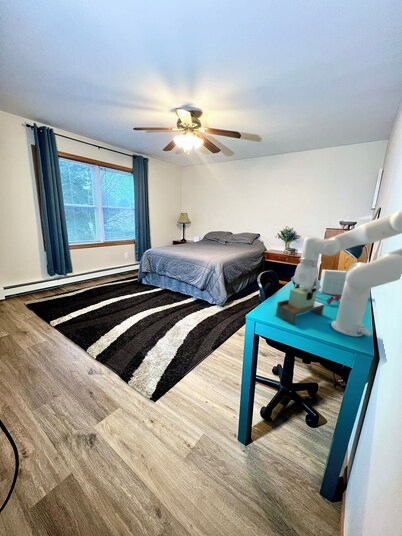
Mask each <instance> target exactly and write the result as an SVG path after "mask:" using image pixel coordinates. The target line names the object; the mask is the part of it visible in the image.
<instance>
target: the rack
mask: <svg viewBox="0 0 402 536" xmlns="http://www.w3.org/2000/svg"><path fill="white" fill-rule="evenodd" d="M288 301H289V298H288V299H284V300H280V301H277V306H276V312H275V316H276V317H277V318H279V319H281V320H283V321H285V322H287V323H288V324H290V325H295V323H296V317H297V315H301V314H303V313H307V312H312V313H314V314H317V315H319V316H323V313H324V308H325V304H324V303H321V302H319V301H317V300H315V303H314V305H313V306H309V307H305V308H302V309H298V308H295V307H293V306H291V305H289V304H288Z"/></svg>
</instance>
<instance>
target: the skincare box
mask: <svg viewBox="0 0 402 536" xmlns="http://www.w3.org/2000/svg"><path fill="white" fill-rule="evenodd" d="M346 273H347V270H337V269H322V270H321V274H320V281H319V285H320V286H321V288H320V289H319V290H318V292H319V291H322V292H319V293H320V294H322V295H329V294H331V295H334V296H335V295H340V296H342V292H343V288H344V284H345V279H346ZM323 292H325V293H323ZM326 293H328V294H326Z"/></svg>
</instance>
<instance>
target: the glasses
mask: <svg viewBox="0 0 402 536" xmlns="http://www.w3.org/2000/svg"><path fill="white" fill-rule="evenodd" d="M320 292H322V291H319V290H318V291H317V293H316V294H318V293H320ZM323 293H325V292H323ZM325 295H329V297H328V298H327V299H324V298H322V297H321V298H320V297H318V296H316V298H317V299H318V300H319V299H320V300H322V301H325V302H326V303H327V304H328V305H331V303H332V302H333V301H335V302H340V300H341V295H334V294H328V293H326V294H325Z"/></svg>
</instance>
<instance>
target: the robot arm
mask: <svg viewBox="0 0 402 536" xmlns="http://www.w3.org/2000/svg"><path fill="white" fill-rule="evenodd" d="M401 234H402V209H400V210H398V211H394V212H392V213H389V214H387V215H383V216H382V217H379V218H376V219H374V220H371V221H368V222H366V223H363V224H361V225H359V226H356V227H355V228H353V229H350V230H348V231H345V232H342V233H339V234H337V235H335V236H331V237H329V238H321V237H317V236H306V237H305V238H304V239H303V244H302V250H301V251H302V252H301V257H299V258H298V261H299V263H298V264H297V266H296V269H295V272H294V276H292V277H291V278H290V280H291V283H292V285H293V287H294V289H295V288H299V287H301V286H302V287H304V286H306V287H308V289H309V292H308V295H307V300H311V299H312V297H313V292H315V291H317V292H318V291H319V289H320V288H321V286H320V282H319V281H318V280H319V266H318V263H319V258H320V255H323V256H327V257H331V256H334V255H336V254H338V253H339V252H342V251H344V250H348V249H350V248H354V247H358V246H362V245H363V246H364V245H365V246H366V245H370V244H373V243H376V242H379V241H382V240H385V239H389V238H393V237H395V236H398V235H401ZM346 271H347V273H346V279H345V284H344V288H343V292H342V295H340V298H341V299H340V300H339V306H338V309H337V313H336V319H335V320H333V321H331V324H330V326H331V328H332V329H333V330H335V331H336V332H338V333H340V334H343V335H346V336H350V337H355V338H357V337H362V336H366V337H370V336H371V335H372V332H371V329H368V328H366V327H365V324H364V323H363V319H364V315H365V312H366V308H367V304H368V301H369V297H370V293H371V289H372V288H375V287H379V286H383V285H386V284H390V283H392V282H397V281H399V280H401V279H400V277H401V274H402V247H401V248H399V249H396V250H392V251H390V252H386V253H383V254H381V255H380V256H378V258H377V259H374V260H372V261H369V262H361V261H360V262H359V261H357V262H355V263H352V264H351V265H350V266H349V267H348V268H347V270H346Z"/></svg>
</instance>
